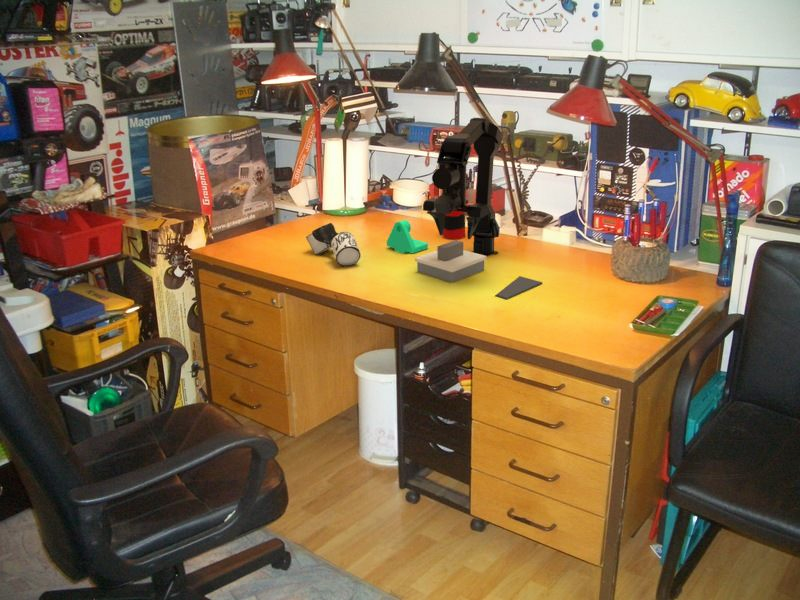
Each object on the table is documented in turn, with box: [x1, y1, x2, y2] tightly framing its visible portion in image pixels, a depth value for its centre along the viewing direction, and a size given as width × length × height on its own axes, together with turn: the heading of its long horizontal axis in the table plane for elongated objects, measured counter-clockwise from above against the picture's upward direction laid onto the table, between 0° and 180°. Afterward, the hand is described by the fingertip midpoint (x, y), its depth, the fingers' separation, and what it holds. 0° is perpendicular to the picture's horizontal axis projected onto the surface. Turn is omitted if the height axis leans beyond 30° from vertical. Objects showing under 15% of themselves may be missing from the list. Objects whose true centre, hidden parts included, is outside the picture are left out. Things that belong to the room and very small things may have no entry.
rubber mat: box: [494, 275, 543, 301], centre depth 224 cm, size 16×16×1 cm
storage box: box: [416, 260, 485, 284], centre depth 235 cm, size 14×14×4 cm
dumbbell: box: [305, 222, 361, 267], centre depth 251 cm, size 25×10×10 cm, turn 34°
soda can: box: [442, 210, 466, 241], centre depth 267 cm, size 8×8×12 cm
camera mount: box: [386, 219, 429, 255], centre depth 256 cm, size 12×8×10 cm, turn 43°
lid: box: [414, 239, 488, 272], centre depth 233 cm, size 15×15×5 cm
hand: (455, 237), depth 226 cm, fingers open, 9 cm apart
